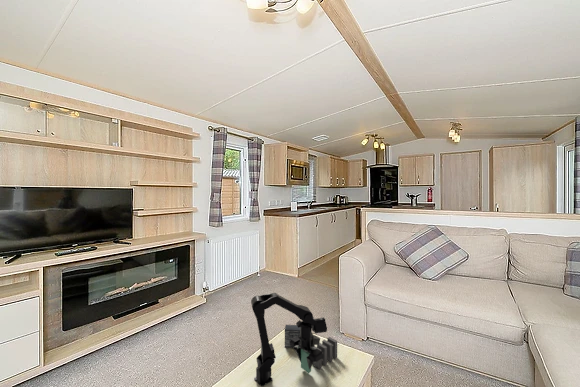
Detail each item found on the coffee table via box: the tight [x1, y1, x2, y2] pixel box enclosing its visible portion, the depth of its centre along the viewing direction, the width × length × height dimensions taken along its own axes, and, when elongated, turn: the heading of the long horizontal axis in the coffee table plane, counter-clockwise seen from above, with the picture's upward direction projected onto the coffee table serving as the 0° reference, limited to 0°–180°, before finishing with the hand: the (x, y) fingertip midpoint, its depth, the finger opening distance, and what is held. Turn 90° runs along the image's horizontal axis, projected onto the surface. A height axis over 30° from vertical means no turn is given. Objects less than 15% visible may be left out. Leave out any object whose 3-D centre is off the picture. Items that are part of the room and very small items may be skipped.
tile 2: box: [311, 345, 323, 370], centre depth 133 cm, size 2×6×9 cm, turn 41°
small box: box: [284, 324, 300, 349], centre depth 152 cm, size 11×6×10 cm, turn 84°
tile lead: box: [300, 349, 312, 374], centre depth 129 cm, size 2×6×9 cm, turn 40°
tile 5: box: [326, 336, 338, 360], centre depth 142 cm, size 2×6×9 cm, turn 41°
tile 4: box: [321, 339, 333, 363], centre depth 139 cm, size 2×6×9 cm, turn 40°
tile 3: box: [316, 342, 328, 366], centre depth 136 cm, size 2×6×9 cm, turn 41°
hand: (305, 365), depth 129 cm, fingers closed on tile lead, 5 cm apart
